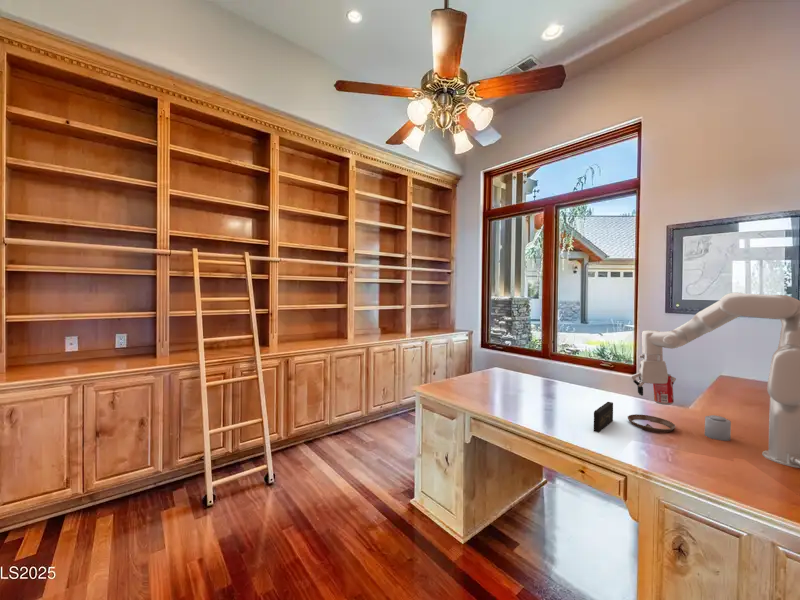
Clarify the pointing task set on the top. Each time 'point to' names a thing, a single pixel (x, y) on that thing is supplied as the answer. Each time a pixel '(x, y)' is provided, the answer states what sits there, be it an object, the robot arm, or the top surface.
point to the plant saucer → (652, 419)
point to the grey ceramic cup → (718, 428)
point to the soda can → (664, 392)
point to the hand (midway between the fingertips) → (653, 395)
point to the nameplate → (603, 416)
